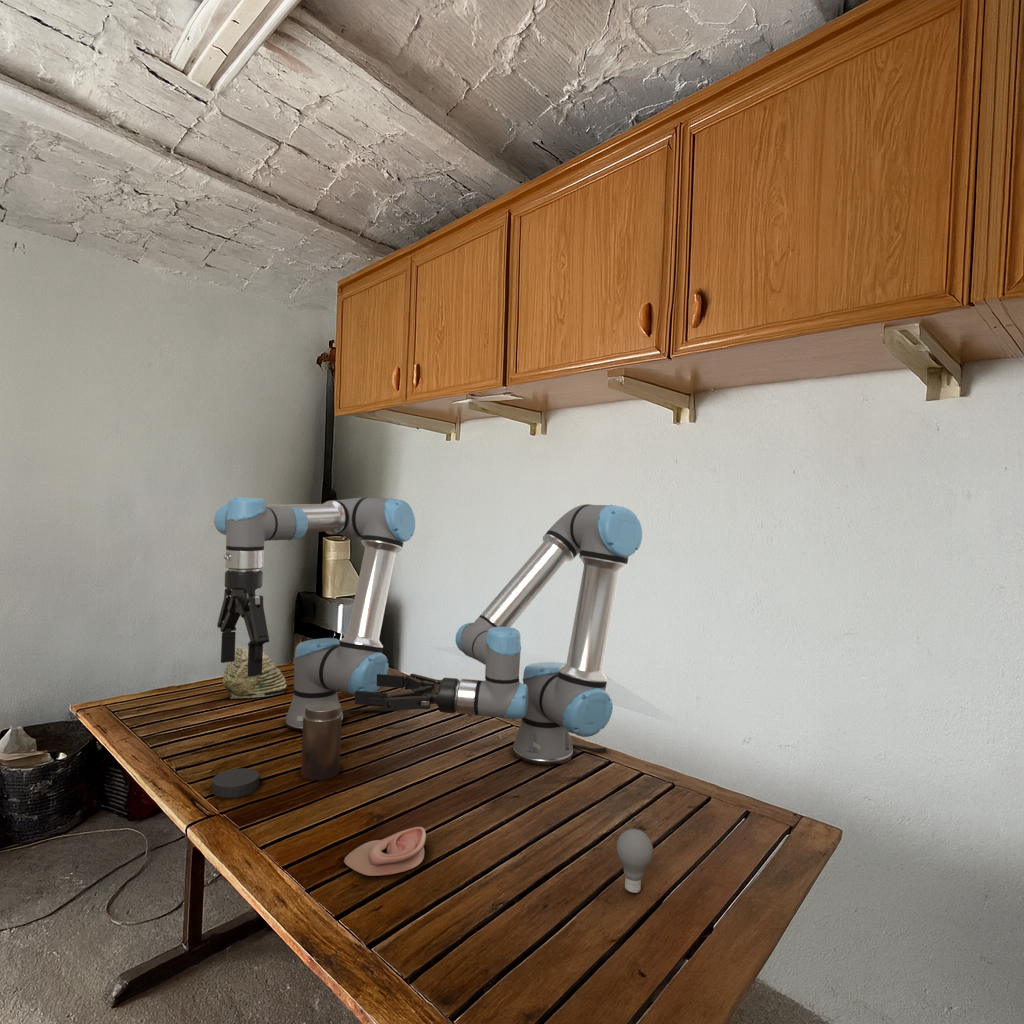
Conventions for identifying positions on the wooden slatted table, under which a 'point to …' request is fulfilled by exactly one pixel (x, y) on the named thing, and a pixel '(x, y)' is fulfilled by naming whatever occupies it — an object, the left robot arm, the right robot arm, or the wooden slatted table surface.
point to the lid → (235, 783)
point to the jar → (321, 740)
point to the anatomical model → (389, 853)
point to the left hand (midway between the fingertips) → (240, 668)
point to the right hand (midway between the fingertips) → (366, 688)
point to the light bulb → (634, 857)
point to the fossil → (252, 677)
